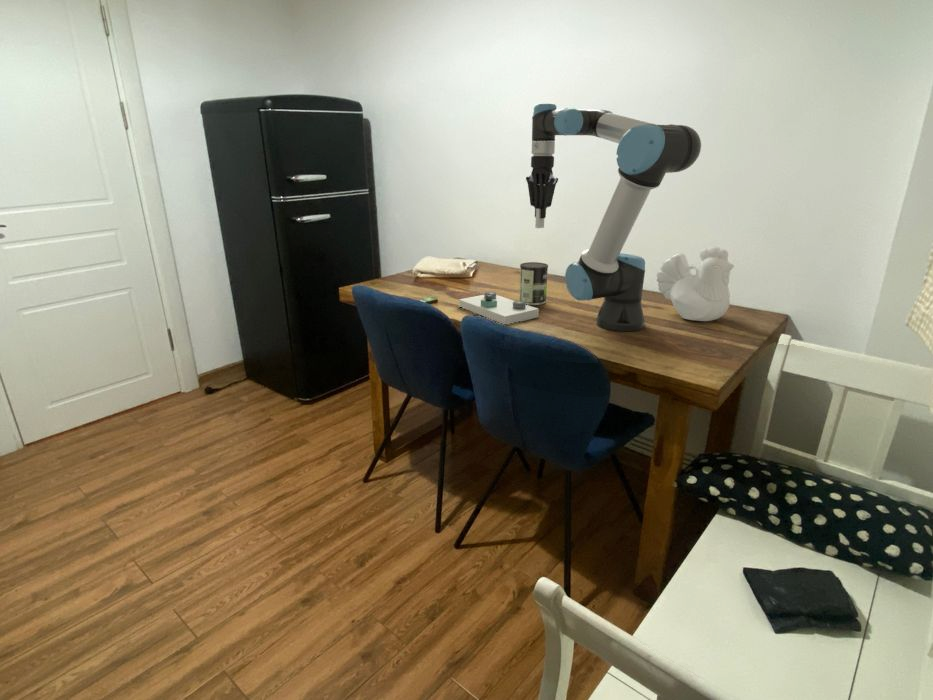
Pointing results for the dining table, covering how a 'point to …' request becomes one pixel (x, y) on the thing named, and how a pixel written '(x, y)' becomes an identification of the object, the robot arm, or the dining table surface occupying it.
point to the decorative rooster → (697, 284)
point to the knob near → (519, 305)
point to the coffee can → (533, 283)
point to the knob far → (490, 294)
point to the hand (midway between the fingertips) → (539, 227)
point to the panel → (499, 309)
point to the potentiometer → (488, 302)
